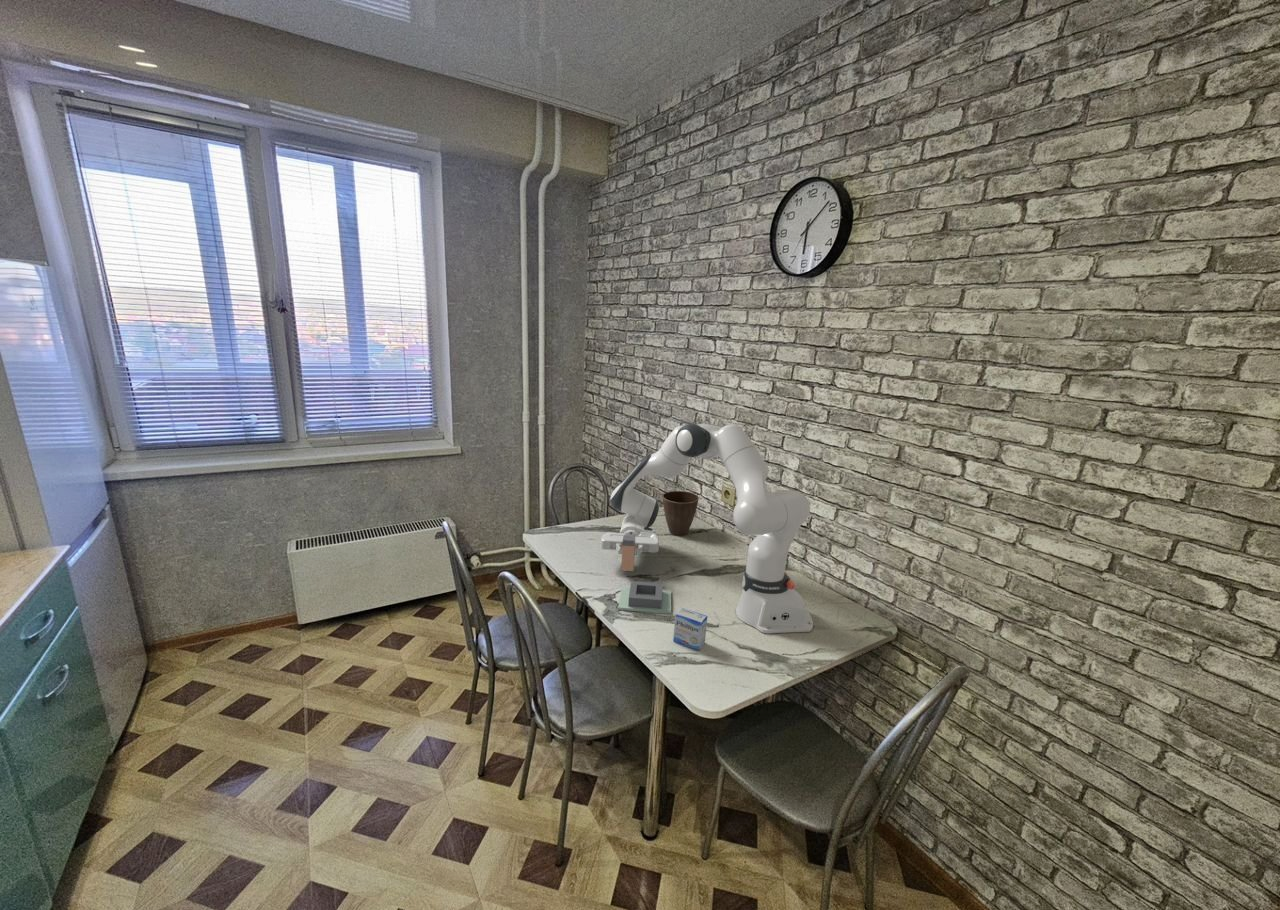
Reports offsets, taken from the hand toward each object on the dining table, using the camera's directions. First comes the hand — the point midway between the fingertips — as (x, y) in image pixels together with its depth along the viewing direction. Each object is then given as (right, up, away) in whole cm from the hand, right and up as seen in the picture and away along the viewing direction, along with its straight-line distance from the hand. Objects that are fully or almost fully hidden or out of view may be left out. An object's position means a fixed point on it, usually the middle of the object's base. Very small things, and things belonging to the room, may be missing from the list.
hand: (628, 552), depth 164 cm
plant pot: (+20, 0, +42) cm, 47 cm away
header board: (+6, -13, -10) cm, 18 cm away
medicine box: (+17, -19, -29) cm, 39 cm away
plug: (0, -6, +2) cm, 6 cm away
